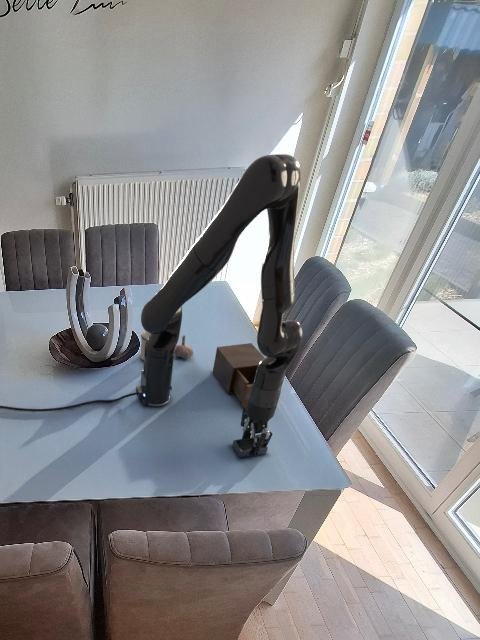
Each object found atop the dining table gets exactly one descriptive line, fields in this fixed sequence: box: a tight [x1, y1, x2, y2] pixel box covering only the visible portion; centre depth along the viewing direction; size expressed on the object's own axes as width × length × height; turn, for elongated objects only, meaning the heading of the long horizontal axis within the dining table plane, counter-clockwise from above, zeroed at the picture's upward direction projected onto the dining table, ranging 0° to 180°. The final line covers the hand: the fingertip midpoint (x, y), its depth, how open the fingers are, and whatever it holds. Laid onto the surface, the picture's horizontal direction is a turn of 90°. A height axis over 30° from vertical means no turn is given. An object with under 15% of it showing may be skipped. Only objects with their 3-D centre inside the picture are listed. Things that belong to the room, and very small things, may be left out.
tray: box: [232, 437, 269, 459], centre depth 132 cm, size 8×6×2 cm
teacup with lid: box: [140, 329, 151, 361], centre depth 168 cm, size 12×9×12 cm
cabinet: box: [212, 342, 266, 395], centre depth 156 cm, size 15×13×10 cm
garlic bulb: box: [174, 334, 194, 360], centre depth 169 cm, size 8×7×8 cm
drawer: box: [231, 367, 257, 409], centre depth 148 cm, size 15×11×8 cm
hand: (249, 448), depth 132 cm, fingers closed on tray, 5 cm apart
